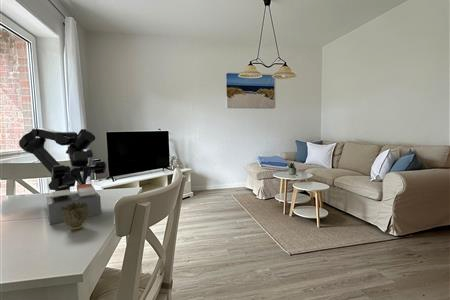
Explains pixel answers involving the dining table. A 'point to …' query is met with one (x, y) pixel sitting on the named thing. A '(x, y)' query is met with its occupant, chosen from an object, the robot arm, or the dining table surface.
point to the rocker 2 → (85, 189)
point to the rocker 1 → (60, 193)
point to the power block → (57, 202)
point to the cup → (75, 215)
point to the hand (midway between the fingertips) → (84, 186)
